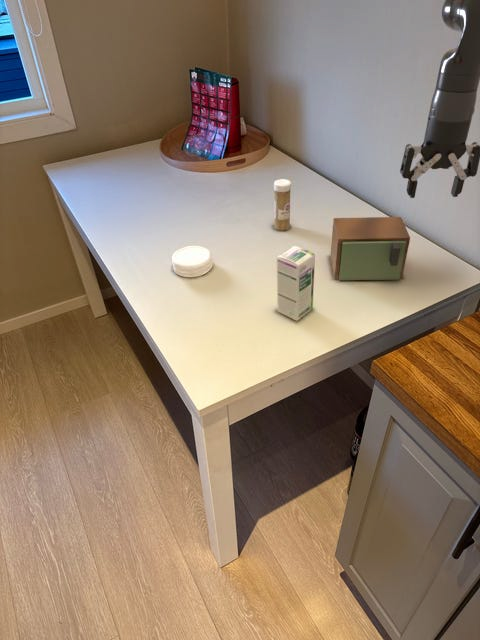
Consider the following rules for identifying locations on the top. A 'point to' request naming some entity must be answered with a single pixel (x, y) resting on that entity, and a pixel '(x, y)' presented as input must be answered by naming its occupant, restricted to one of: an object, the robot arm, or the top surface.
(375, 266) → the sliding door
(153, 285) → the top surface
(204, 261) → the white short cylinder
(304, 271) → the syrup box
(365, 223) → the cupboard
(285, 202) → the sprinkles bottle
